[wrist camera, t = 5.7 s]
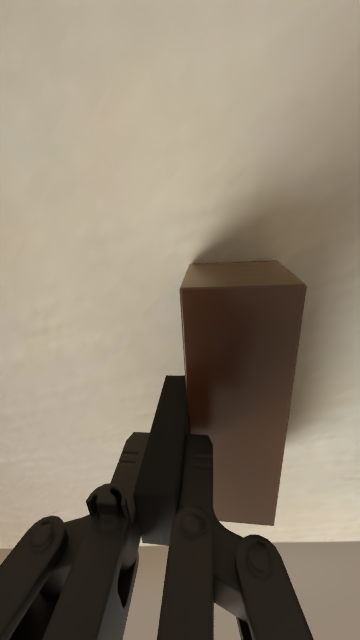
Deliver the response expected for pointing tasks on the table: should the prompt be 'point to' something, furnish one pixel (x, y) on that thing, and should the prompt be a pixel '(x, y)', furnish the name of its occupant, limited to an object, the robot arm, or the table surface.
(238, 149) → the table surface
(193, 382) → the walnut bar
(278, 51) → the table surface
